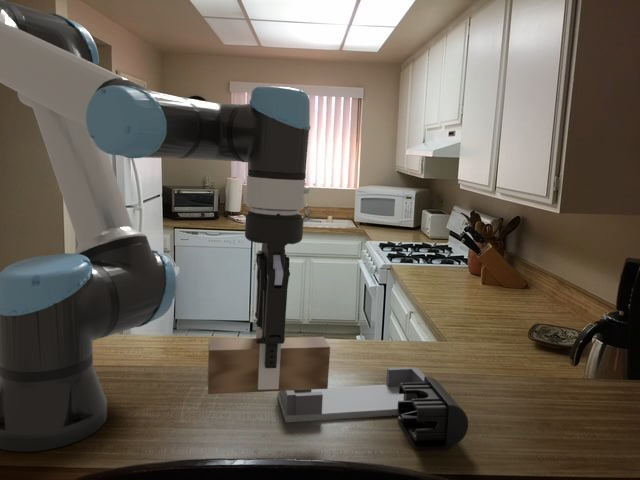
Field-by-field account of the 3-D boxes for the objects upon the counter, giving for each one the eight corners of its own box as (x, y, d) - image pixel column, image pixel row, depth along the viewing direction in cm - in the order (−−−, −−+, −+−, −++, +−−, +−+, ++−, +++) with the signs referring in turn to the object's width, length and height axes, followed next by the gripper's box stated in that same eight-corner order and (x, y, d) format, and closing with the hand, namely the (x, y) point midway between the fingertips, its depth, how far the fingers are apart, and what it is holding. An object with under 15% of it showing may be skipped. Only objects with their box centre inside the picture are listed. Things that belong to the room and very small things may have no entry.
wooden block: (208, 394, 69) (209, 350, 68) (207, 381, 73) (208, 339, 72) (327, 388, 73) (330, 347, 72) (320, 376, 77) (323, 336, 76)
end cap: (466, 451, 72) (470, 404, 71) (416, 453, 71) (419, 406, 70) (440, 417, 82) (443, 375, 81) (395, 418, 81) (398, 376, 80)
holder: (285, 422, 78) (286, 396, 78) (277, 396, 87) (278, 372, 86) (437, 412, 83) (439, 388, 83) (415, 388, 92) (416, 366, 92)
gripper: (316, 220, 62) (304, 409, 66) (293, 205, 78) (284, 356, 82) (251, 218, 60) (242, 411, 64) (241, 202, 77) (234, 357, 80)
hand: (266, 380), depth 73 cm, fingers closed on wooden block, 4 cm apart
